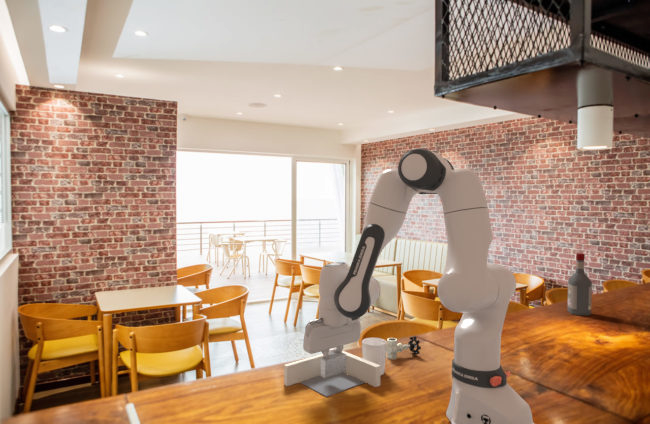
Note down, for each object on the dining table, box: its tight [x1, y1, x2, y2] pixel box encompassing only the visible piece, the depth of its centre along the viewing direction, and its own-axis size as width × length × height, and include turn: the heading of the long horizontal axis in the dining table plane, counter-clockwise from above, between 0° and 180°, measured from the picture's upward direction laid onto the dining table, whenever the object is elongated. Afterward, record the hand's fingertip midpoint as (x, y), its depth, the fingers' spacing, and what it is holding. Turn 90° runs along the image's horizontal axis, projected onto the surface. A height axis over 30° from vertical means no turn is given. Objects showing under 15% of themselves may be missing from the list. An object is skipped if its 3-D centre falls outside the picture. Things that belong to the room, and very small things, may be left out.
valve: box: [386, 335, 422, 360], centre depth 155 cm, size 7×7×12 cm
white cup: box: [361, 337, 387, 376], centre depth 140 cm, size 8×8×10 cm
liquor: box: [566, 252, 593, 317], centre depth 218 cm, size 9×9×30 cm
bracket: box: [320, 348, 346, 378], centre depth 128 cm, size 8×8×5 cm
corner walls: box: [283, 350, 382, 388], centre depth 130 cm, size 18×22×6 cm
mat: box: [300, 372, 365, 398], centre depth 131 cm, size 12×15×1 cm
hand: (332, 361), depth 131 cm, fingers closed on bracket
